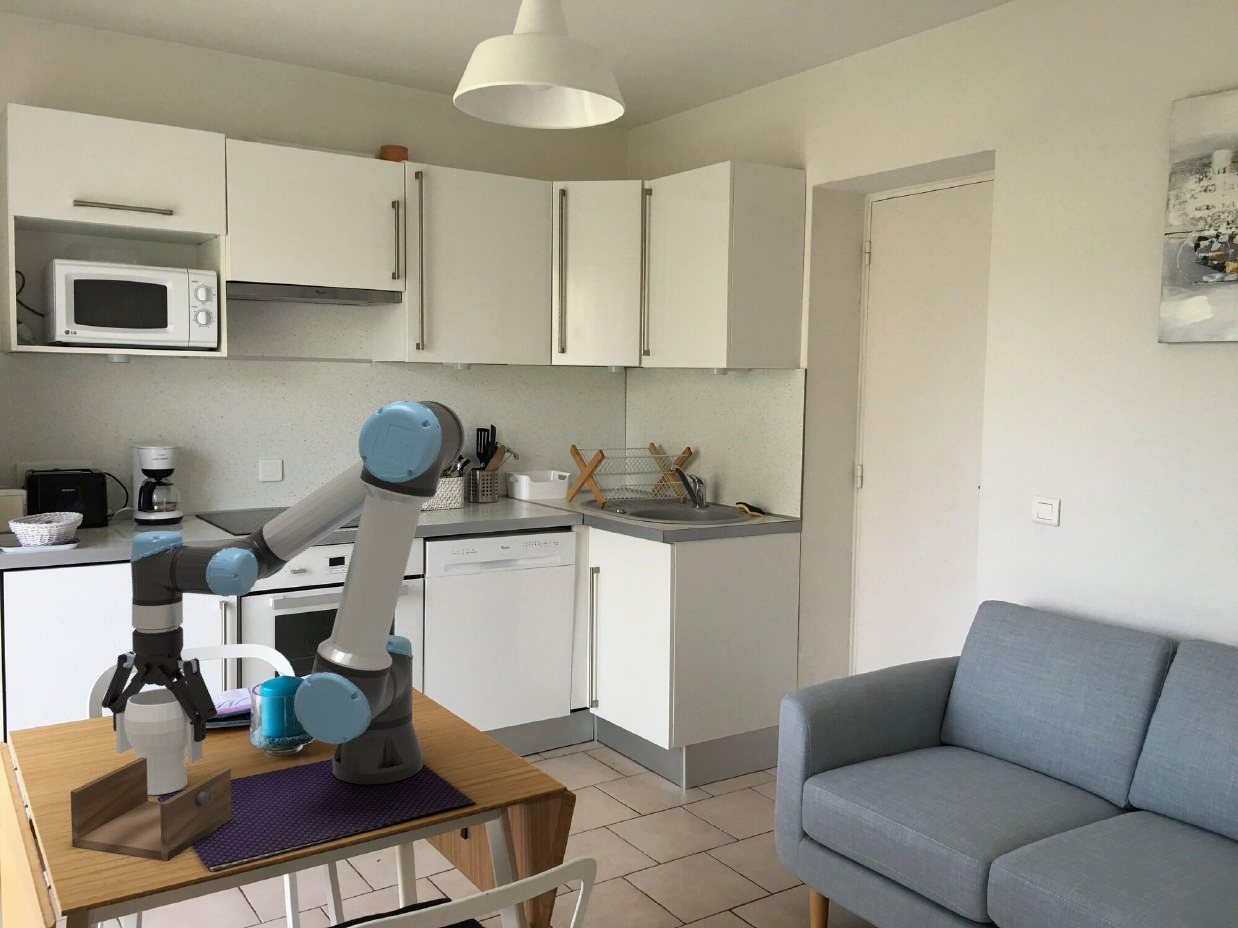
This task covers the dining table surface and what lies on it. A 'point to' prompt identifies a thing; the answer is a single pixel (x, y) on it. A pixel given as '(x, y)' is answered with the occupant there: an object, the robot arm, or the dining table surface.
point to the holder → (147, 813)
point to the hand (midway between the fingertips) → (159, 755)
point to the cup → (158, 738)
